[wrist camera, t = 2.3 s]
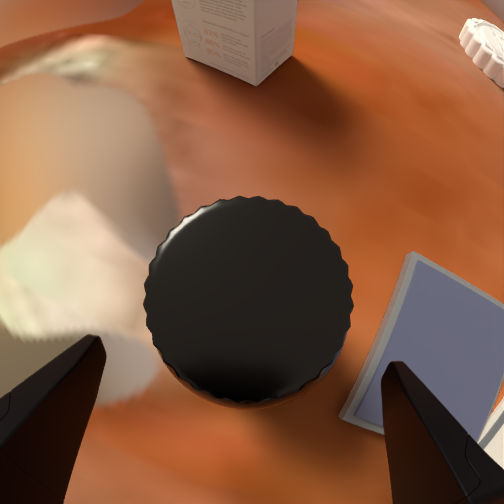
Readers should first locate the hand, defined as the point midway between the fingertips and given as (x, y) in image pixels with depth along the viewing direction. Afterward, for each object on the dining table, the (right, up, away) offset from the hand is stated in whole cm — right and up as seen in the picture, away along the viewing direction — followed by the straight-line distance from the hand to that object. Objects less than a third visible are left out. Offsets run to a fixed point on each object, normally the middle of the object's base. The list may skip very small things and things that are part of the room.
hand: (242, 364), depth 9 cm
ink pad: (+13, -4, +8) cm, 16 cm away
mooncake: (+31, +27, +17) cm, 45 cm away
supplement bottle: (0, -1, +10) cm, 10 cm away
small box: (-1, +20, +15) cm, 26 cm away
